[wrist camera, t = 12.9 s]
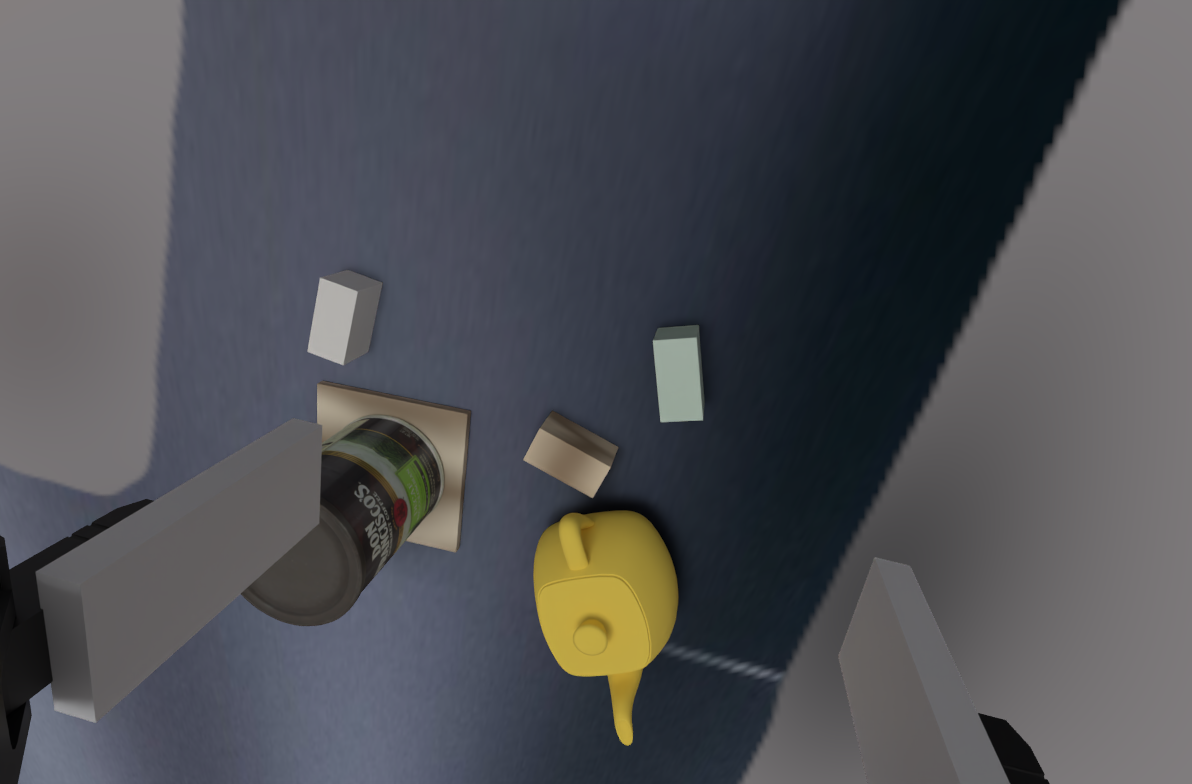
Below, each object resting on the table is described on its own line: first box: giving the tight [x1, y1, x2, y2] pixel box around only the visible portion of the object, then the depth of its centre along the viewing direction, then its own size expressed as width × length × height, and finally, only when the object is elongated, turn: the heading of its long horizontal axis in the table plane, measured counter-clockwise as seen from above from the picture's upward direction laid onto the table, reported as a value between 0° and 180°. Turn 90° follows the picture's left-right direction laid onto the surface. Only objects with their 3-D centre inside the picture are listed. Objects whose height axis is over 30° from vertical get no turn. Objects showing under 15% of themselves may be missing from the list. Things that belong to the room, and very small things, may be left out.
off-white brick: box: [307, 270, 383, 365], centre depth 53 cm, size 6×3×4 cm, turn 162°
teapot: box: [534, 510, 678, 745], centre depth 53 cm, size 18×11×11 cm, turn 16°
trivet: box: [317, 381, 471, 552], centre depth 58 cm, size 13×13×1 cm
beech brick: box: [523, 411, 618, 498], centre depth 53 cm, size 6×3×4 cm, turn 63°
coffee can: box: [241, 415, 444, 626], centre depth 51 cm, size 10×10×14 cm
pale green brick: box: [653, 325, 704, 422], centre depth 49 cm, size 6×3×4 cm, turn 7°
